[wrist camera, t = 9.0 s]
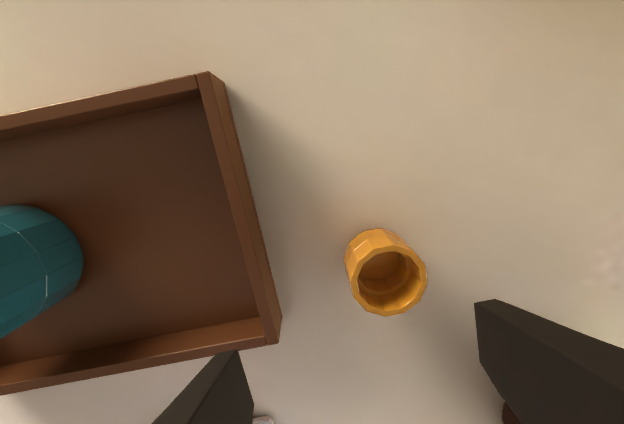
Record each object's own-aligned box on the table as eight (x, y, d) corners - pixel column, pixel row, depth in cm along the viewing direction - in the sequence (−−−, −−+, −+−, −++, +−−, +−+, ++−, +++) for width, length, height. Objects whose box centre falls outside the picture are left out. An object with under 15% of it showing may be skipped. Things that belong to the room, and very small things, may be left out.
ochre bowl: (409, 278, 18) (431, 308, 15) (349, 290, 18) (358, 322, 15) (401, 221, 17) (422, 239, 14) (338, 233, 17) (345, 253, 14)
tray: (224, 82, 15) (208, 70, 13) (282, 316, 18) (278, 343, 16) (-121, 155, 16) (-199, 158, 13) (-11, 372, 19) (-59, 407, 16)
